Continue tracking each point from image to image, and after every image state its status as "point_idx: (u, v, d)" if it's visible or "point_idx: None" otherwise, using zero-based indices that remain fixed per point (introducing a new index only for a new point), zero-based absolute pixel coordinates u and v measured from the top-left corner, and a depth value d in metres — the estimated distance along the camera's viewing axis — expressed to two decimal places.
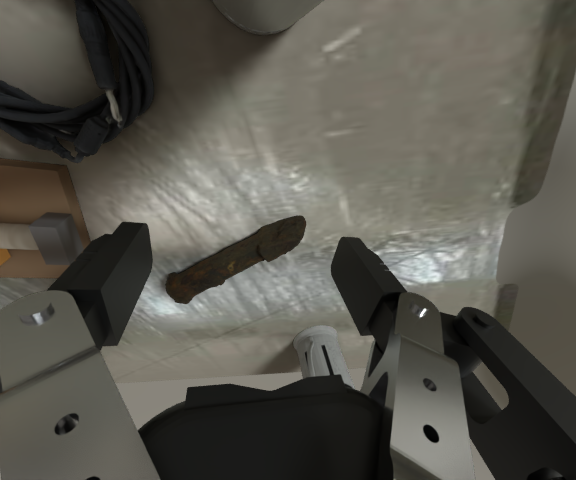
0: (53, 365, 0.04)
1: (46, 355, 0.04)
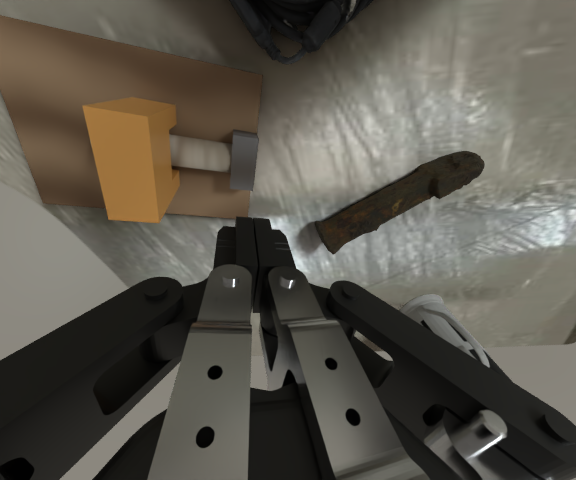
0: (223, 321, 0.06)
1: (223, 311, 0.06)
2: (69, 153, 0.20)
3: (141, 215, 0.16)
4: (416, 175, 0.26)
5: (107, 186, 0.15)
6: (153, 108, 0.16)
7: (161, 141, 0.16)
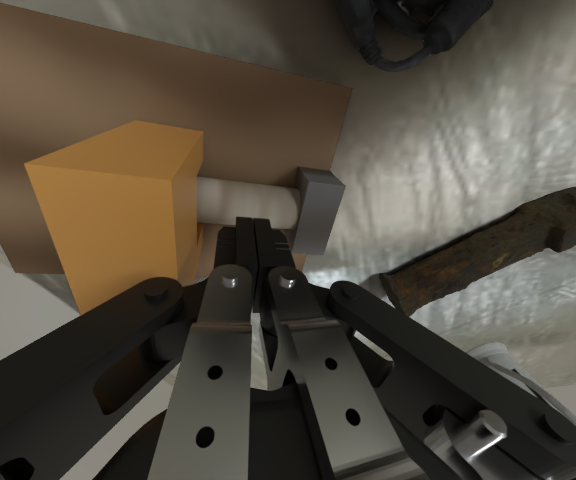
0: (224, 321, 0.06)
1: (223, 311, 0.06)
2: None
3: None
4: (523, 219, 0.20)
5: (88, 301, 0.08)
6: (174, 147, 0.09)
7: (188, 205, 0.09)
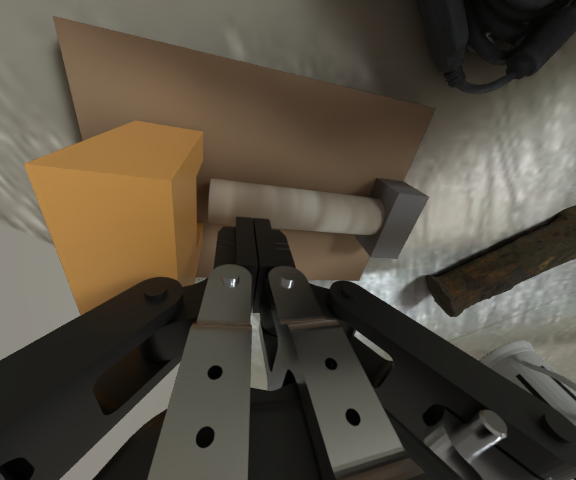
0: (224, 321, 0.06)
1: (223, 311, 0.06)
2: None
3: None
4: (566, 224, 0.21)
5: (88, 301, 0.08)
6: (174, 147, 0.09)
7: (188, 205, 0.09)
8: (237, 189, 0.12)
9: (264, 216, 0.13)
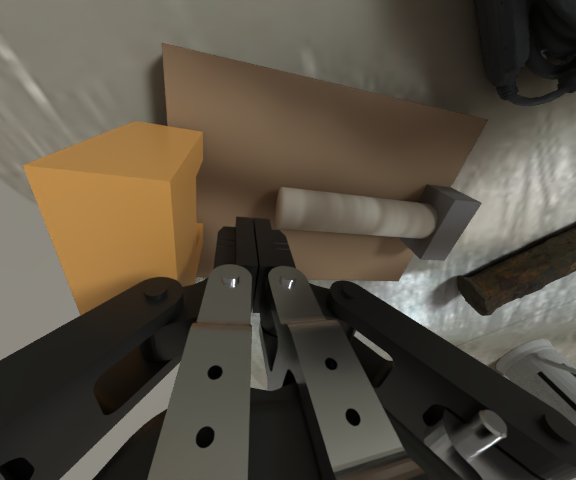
0: (223, 321, 0.06)
1: (223, 311, 0.06)
2: (228, 219, 0.15)
3: None
4: None
5: (88, 301, 0.08)
6: (173, 147, 0.09)
7: (187, 205, 0.09)
8: (308, 197, 0.13)
9: (331, 222, 0.14)
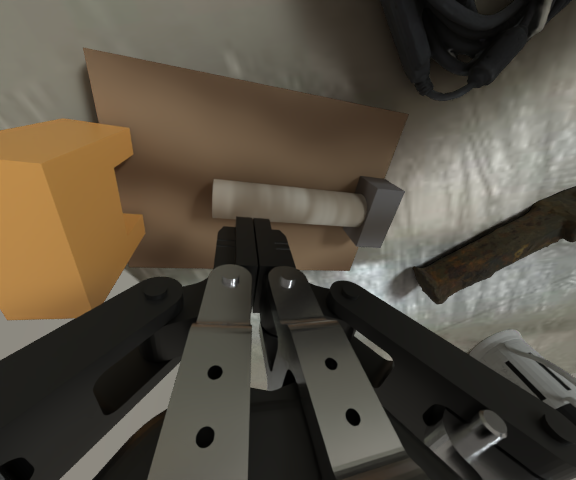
0: (223, 321, 0.06)
1: (223, 311, 0.06)
2: (170, 211, 0.16)
3: (62, 310, 0.10)
4: (539, 214, 0.23)
5: None
6: (78, 139, 0.10)
7: (93, 191, 0.10)
8: (237, 188, 0.14)
9: (260, 210, 0.15)
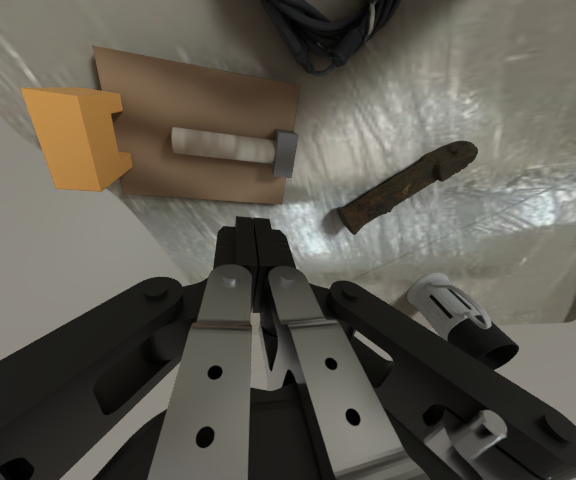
0: (224, 321, 0.06)
1: (223, 311, 0.06)
2: (148, 151, 0.25)
3: (84, 184, 0.19)
4: (421, 163, 0.32)
5: (50, 158, 0.17)
6: (91, 93, 0.18)
7: (99, 121, 0.19)
8: (187, 131, 0.23)
9: (203, 146, 0.23)
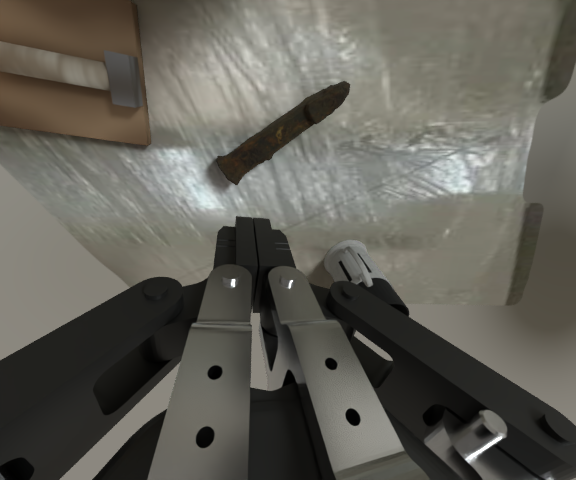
0: (223, 321, 0.06)
1: (223, 311, 0.06)
2: None
3: None
4: (297, 106, 0.30)
5: None
6: None
7: None
8: None
9: (18, 61, 0.22)
